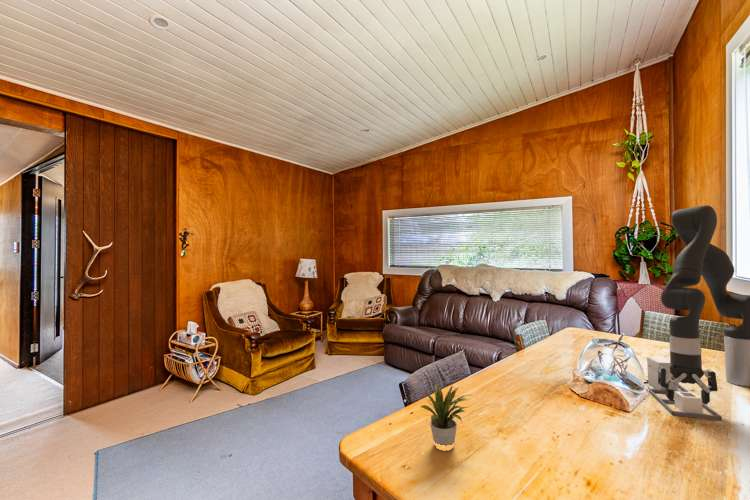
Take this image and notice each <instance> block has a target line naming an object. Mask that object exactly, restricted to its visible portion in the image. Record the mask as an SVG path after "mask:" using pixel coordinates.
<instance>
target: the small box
mask: <svg viewBox="0 0 750 500" xmlns="http://www.w3.org/2000/svg"><path fill="white" fill-rule="evenodd" d="M646 363H647V364H646V365H647V380H648V383H647V384H648V385H649V386H651V387H652V388H653V389H659V390H666V388H665V387H662V386H661V385H660V384H658V367H659V366H661V367H663V368H670V366H671V363H670V359H668V358H665V357H663V356H647V357H646ZM671 376H672V374H671V373H670V372H668V374H667V375H666V382H667V381H668V380H669V378H670V377H671ZM673 391H679V388H678V385H676V386H675V387H674V388H673Z"/></svg>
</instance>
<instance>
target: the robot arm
mask: <svg viewBox="0 0 750 500" xmlns="http://www.w3.org/2000/svg"><path fill="white" fill-rule="evenodd" d="M670 219H671V223H672V227H673V229H674V231H675V233H676V234H677V236H678V237H679V238H680V240H681V242H682V243H683V244H684V245H685V247H684V248H683V249H682V250H681V252H679V254H678V255H677V256H676V257H675V259H674V260H675V261H674V265H673V269H672V273H671V276H670V279H669V280H668V282H667V284H666V285H665V287H664V288H663V289H662V292H661V294H660V302H661V304H662V305H663V306H664V307H665V309H666V308H667V309H669V310H679V311H680V310H681V311H688V314H687V315H684V316H673V317H671V318H670V319H669V344H668V345H669V360H670V363H671V366H670V368H663V367H661V366H659V367H658V384H660V385H661V386H662V387H665V388H666V393H665V397H666V399H669V400H670V401H674V400H675V395H674V391H673V388H674V387H675V386H676V385H678V384H679V385H680V383H681V384H691V385H695V384H697V385H698V387H699V388H700V395H701V397H700V398H702V403H704V404H706V405H708V404H710V403H711V394H710V393H711V392H718V390H719V389H718V381H717V373H716V372H715V371H713V370H711V369H708V368H707V370H703V369H702V368H703V365H702V364H703V362H702V345H701V340H700V319H701V316H702V312H703V309H704V307H705V304H706V296H705V294H704V292H703V291H702V289H699V288H693V286H696V285H698V284H699V283H700V282H701V280H702V278H703V280H704V282H705V283H706V286H707V288H708V290H709V293H710V295H711V299H712V301H713V303H714V306H715V309H716V311H717V312H718V314H720V316H722V317H724V318H727V319H736V320H742V321H741V322H742V323H741V324H739V325H735V326H728V327H725V328H723V342H724V364H725V365H724V367H725V378H726V379H725V380H726V382H727V383H730V384H733V385H737V386H742V387H749V388H750V294H735V293H730V292H728V291H727V289H726V288H727V285H728V284H729V282H730V281H731V280H732V278H733V277H734V274H735V267H734V264H733V263H732V261H731V258H730V256H729V255H728V253H726V252H725V251H724V250H723V249H721V248H720V247H718V246H716V245H714V244H712V243H711V242H712V239H713V237H714V234H715V231H716V228H717V224H718V215H717V212H716V210H715V209H714V208H713V207H712V206H711V205H709V204H708V205H707V204H706V205H697V206H693V207H687V208H681V209H676V210H675V211H673V212H672V213H671V218H670ZM668 372H670V373H671V374H672V376H671V377H670V378H669V380H668V381H667V382H666V375H667V374H668ZM703 376H705V377H706V378H707V385H706V384H705V382H704V381H702V378H703Z"/></svg>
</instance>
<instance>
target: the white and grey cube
mask: <svg viewBox="0 0 750 500" xmlns="http://www.w3.org/2000/svg"><path fill="white" fill-rule="evenodd" d="M680 391H681V390H678V391H674V400H675V404H674V407H675V408H677V409H678V410H679V412H687V413H697V414H704V412H703V409H704V408H703V407H702V398H701V397H700V396H699V395H698V394H697V393H695V392H693V391H692V392H691V391H688V392H680Z"/></svg>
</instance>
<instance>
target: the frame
mask: <svg viewBox="0 0 750 500" xmlns="http://www.w3.org/2000/svg"><path fill="white" fill-rule="evenodd" d="M645 380H646V381H647V383H646V384H648V379H645ZM647 387H648V389H649V392H648V393H649V394H650V395H651V396H652V397H653V398H654V399H655V400H656V401H657V402H658V403H659V404H660V406H662V407H663V408H664V409H666V410H667V412H669V414H670V415H672V416H678V417H688V418H697V419H699V418H700V419H707V420H716V421H717V420H718V421H722V420H723V417H722V415H720V414H719V413H718V412H716V411H715V410H714V409H712V408H711V407H710V406H708V404H704V403H702V407H703V409H705V410H706V411H707V412H708V413H710V414H704V413H703V414H697V413H687V412H681V411H678V410H677V411H675V410H673V409H672V408H671V407H670V406H668V404H674V405H675V399H674V401H670V400H669V399H668V398H660V397H659V396H658V395H657V394H666V390H659V389H656V388H650V387H649V386H647ZM678 390H679V391H680V392H689V391H688V390H687V389H686V388H685V387H683V386H682V385H680V383H679V384H678Z"/></svg>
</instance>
